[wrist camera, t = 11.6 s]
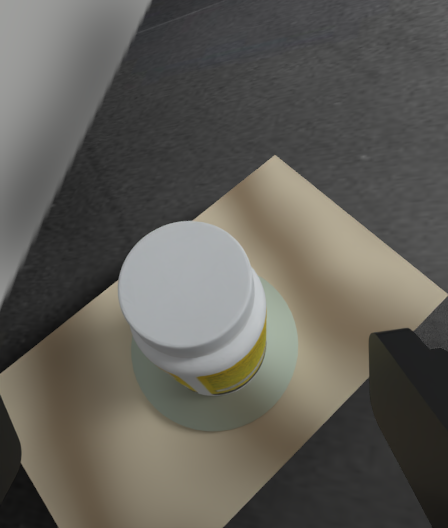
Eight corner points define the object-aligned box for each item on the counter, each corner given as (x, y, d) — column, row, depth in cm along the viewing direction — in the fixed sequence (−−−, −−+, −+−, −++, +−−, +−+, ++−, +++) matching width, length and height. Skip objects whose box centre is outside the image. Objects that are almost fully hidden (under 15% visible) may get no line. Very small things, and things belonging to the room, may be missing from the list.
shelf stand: (272, 208, 30) (275, 150, 24) (407, 327, 25) (452, 291, 19) (39, 402, 25) (-27, 389, 19) (156, 584, 21) (117, 637, 15)
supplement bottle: (272, 305, 20) (279, 218, 12) (258, 405, 18) (256, 377, 10) (177, 291, 21) (128, 201, 13) (155, 387, 19) (81, 347, 11)
